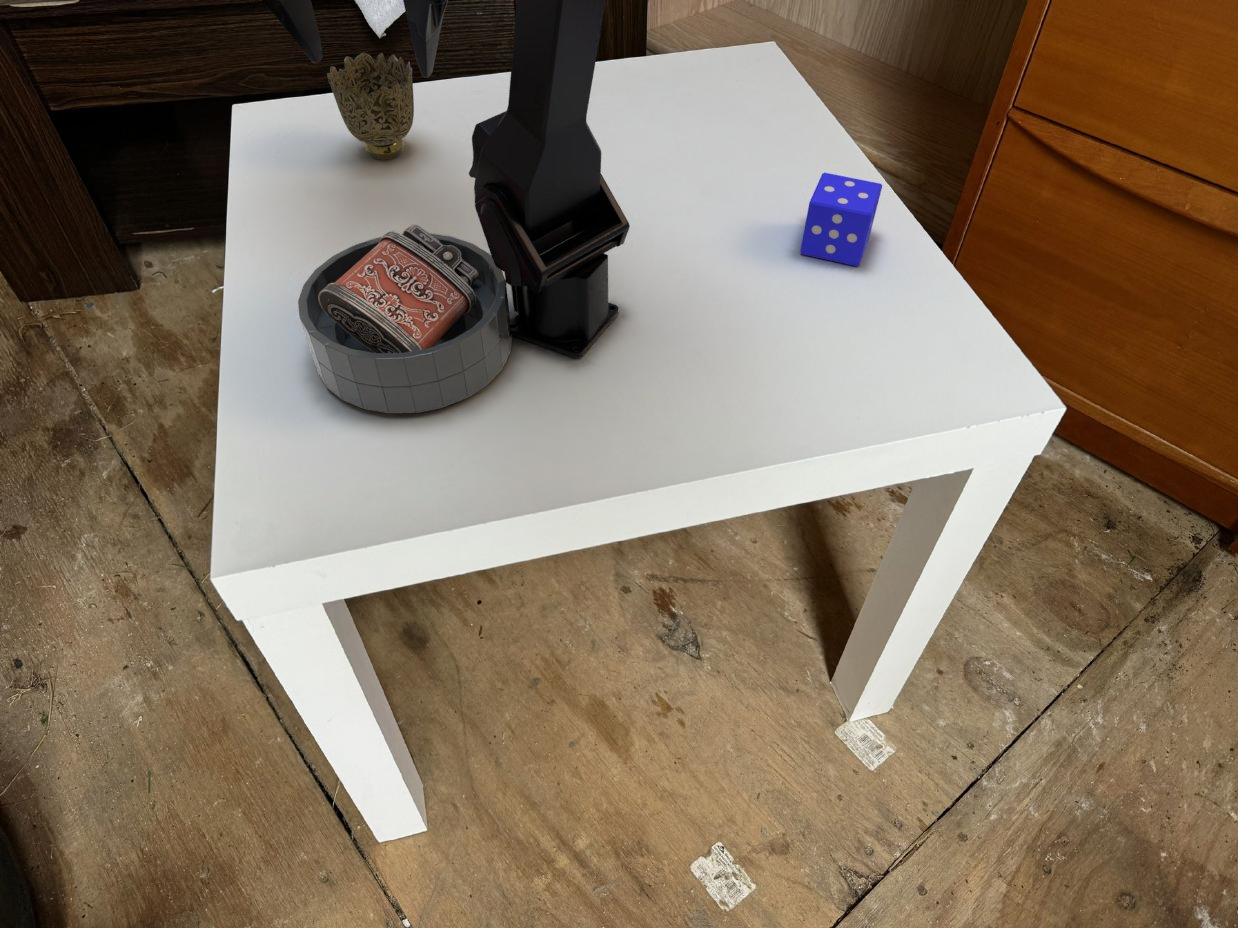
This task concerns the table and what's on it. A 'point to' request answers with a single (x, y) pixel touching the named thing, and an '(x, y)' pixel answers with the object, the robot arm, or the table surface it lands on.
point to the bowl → (417, 375)
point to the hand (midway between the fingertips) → (372, 68)
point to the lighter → (402, 293)
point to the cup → (375, 101)
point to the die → (840, 218)
